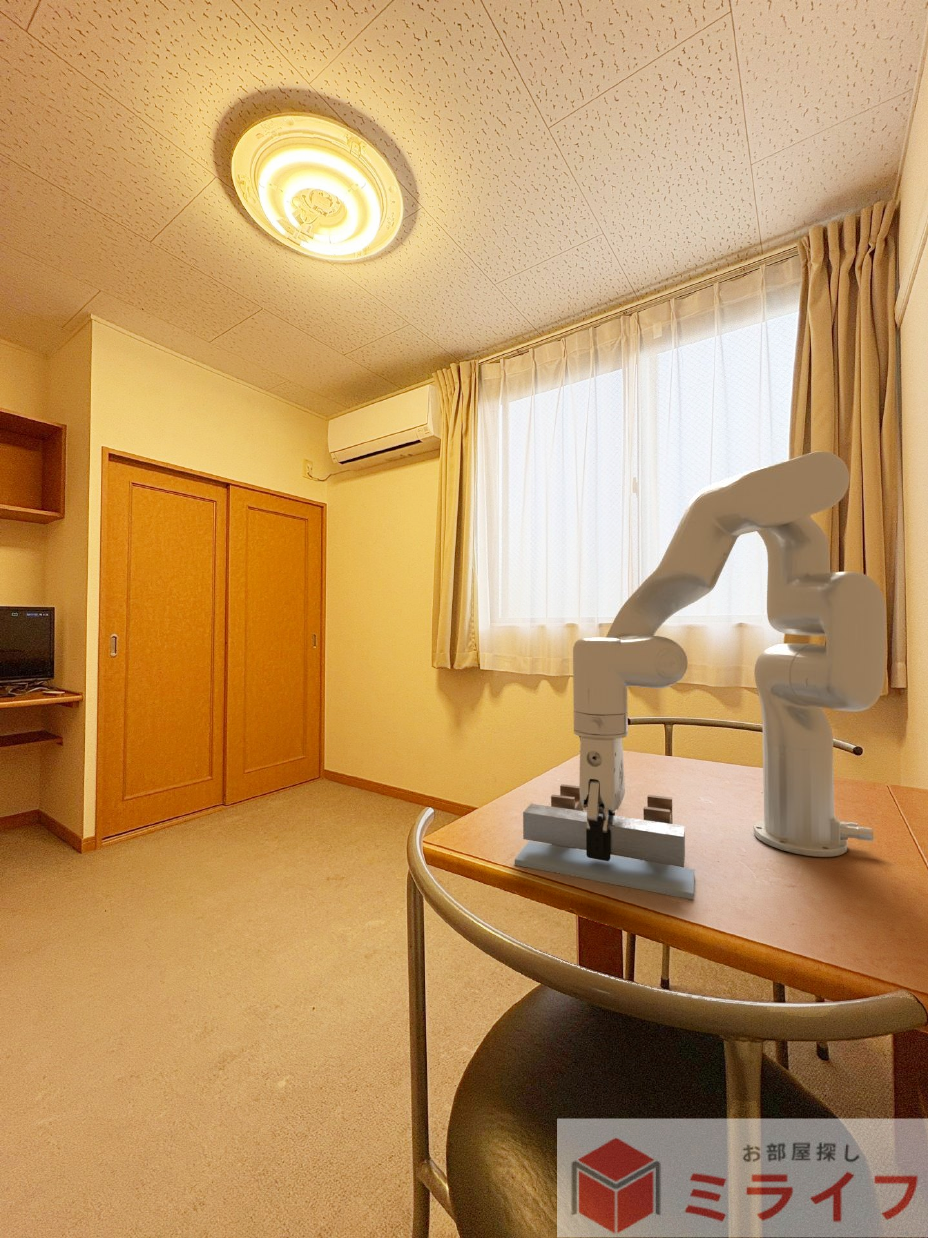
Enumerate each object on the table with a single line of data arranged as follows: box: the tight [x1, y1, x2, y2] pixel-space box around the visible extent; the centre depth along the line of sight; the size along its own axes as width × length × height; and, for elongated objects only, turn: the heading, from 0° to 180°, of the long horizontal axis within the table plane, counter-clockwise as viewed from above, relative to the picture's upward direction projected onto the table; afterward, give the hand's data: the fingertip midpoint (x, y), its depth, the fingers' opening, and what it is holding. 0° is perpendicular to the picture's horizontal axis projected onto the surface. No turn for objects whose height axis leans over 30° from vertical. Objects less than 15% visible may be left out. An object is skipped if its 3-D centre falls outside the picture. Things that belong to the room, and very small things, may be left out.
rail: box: [522, 803, 686, 868], centre depth 74 cm, size 22×4×4 cm, turn 65°
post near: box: [643, 794, 674, 865], centre depth 79 cm, size 4×7×8 cm, turn 155°
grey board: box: [514, 840, 695, 901], centre depth 74 cm, size 24×7×1 cm, turn 65°
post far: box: [550, 783, 584, 849], centre depth 84 cm, size 4×7×8 cm, turn 155°
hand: (601, 850), depth 74 cm, fingers closed on rail, 4 cm apart
